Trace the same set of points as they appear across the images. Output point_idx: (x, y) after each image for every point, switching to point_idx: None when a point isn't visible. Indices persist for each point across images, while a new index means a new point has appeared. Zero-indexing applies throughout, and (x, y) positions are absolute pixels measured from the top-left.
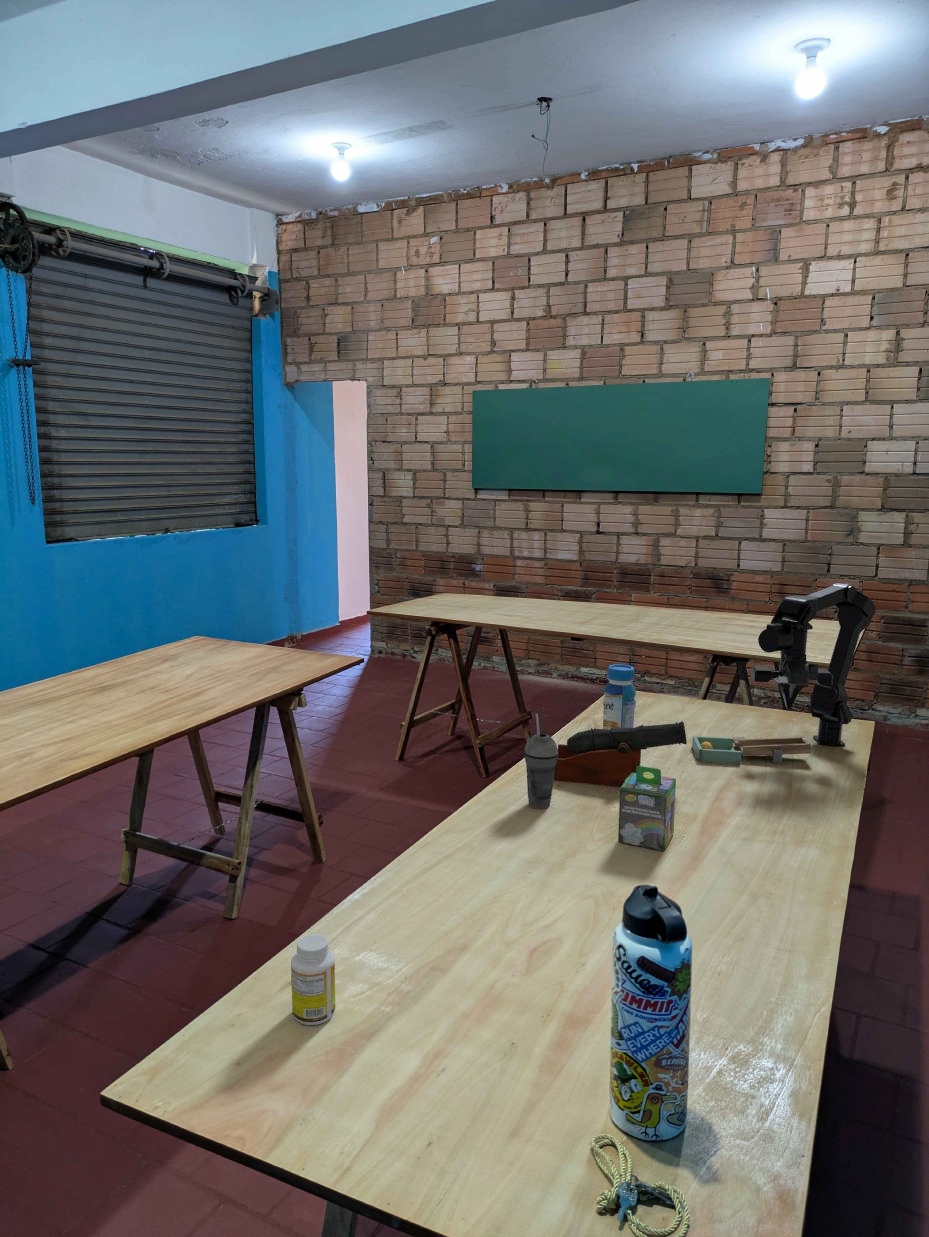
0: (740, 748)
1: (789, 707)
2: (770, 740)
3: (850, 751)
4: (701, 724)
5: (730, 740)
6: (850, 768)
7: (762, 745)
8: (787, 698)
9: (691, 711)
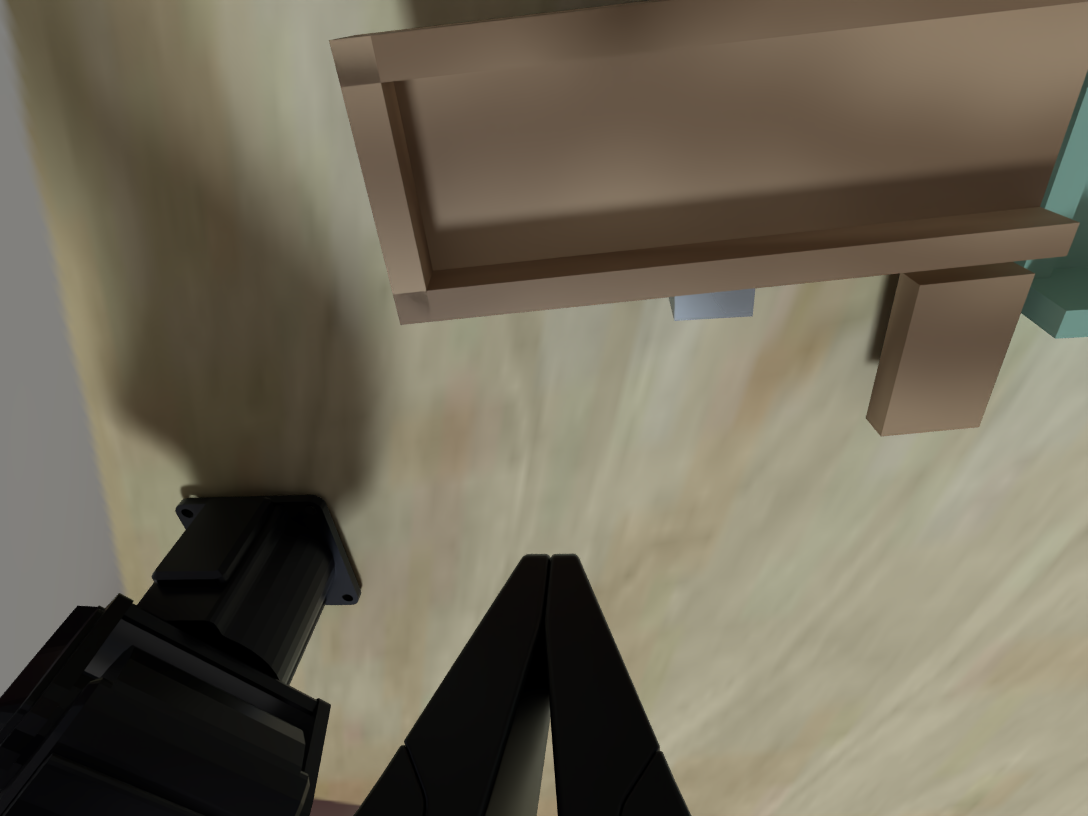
0: (1060, 127)
1: (544, 568)
2: (739, 254)
3: (138, 424)
4: (960, 683)
5: (1083, 302)
6: (50, 16)
7: (919, 9)
8: (599, 715)
9: (918, 806)
